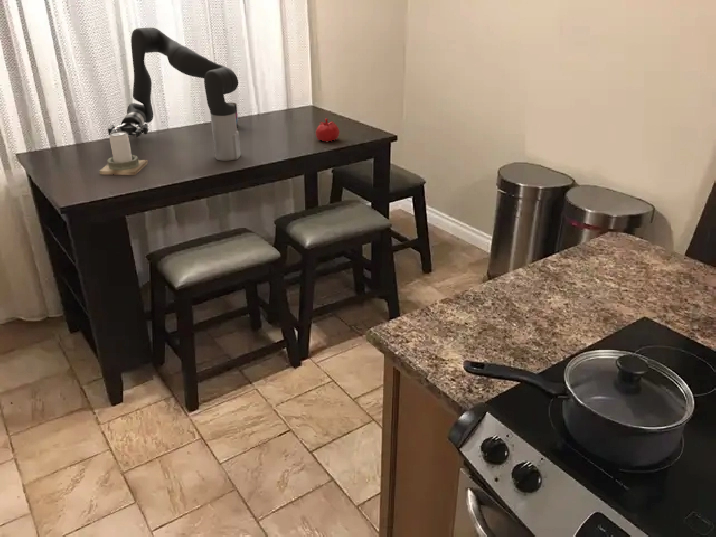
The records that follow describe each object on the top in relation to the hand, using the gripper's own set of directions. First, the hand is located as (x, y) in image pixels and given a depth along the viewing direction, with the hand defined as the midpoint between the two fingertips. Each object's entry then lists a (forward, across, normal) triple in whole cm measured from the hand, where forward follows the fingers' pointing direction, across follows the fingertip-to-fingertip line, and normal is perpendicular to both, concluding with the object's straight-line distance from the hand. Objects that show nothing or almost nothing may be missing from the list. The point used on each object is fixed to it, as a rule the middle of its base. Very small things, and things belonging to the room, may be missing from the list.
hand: (125, 135), depth 230 cm
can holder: (+10, 0, +10) cm, 14 cm away
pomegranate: (-16, +78, +10) cm, 80 cm away
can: (+10, 0, +9) cm, 13 cm away
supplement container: (-41, +37, +10) cm, 56 cm away
